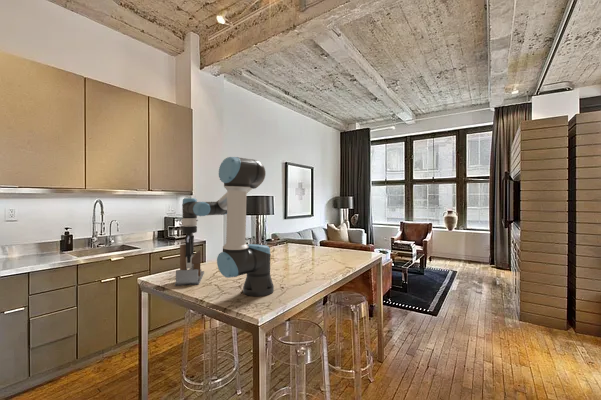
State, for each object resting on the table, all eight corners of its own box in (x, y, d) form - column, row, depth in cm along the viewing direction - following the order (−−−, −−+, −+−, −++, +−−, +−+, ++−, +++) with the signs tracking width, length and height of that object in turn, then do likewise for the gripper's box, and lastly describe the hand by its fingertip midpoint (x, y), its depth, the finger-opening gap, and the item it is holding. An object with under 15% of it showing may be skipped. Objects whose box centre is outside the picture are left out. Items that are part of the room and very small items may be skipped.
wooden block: (200, 276, 158) (200, 244, 158) (179, 278, 154) (179, 245, 154) (199, 274, 161) (199, 243, 162) (179, 276, 157) (179, 244, 157)
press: (198, 284, 150) (198, 269, 150) (174, 286, 148) (174, 270, 148) (204, 273, 173) (204, 260, 173) (183, 274, 171) (183, 261, 170)
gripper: (194, 227, 150) (194, 270, 150) (198, 224, 167) (199, 263, 167) (179, 227, 148) (179, 271, 148) (185, 224, 165) (185, 264, 165)
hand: (189, 267), depth 158 cm, fingers closed on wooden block, 4 cm apart
